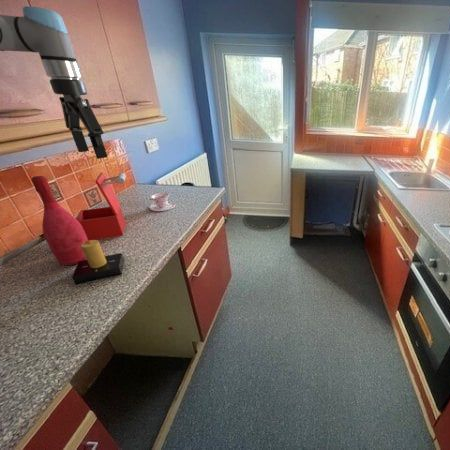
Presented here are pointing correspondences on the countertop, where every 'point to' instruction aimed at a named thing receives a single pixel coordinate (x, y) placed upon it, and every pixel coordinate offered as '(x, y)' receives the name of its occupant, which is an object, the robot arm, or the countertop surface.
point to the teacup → (161, 202)
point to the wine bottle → (60, 227)
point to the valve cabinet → (101, 223)
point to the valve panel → (98, 269)
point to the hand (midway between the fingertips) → (92, 154)
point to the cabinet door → (110, 190)
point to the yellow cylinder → (93, 253)
